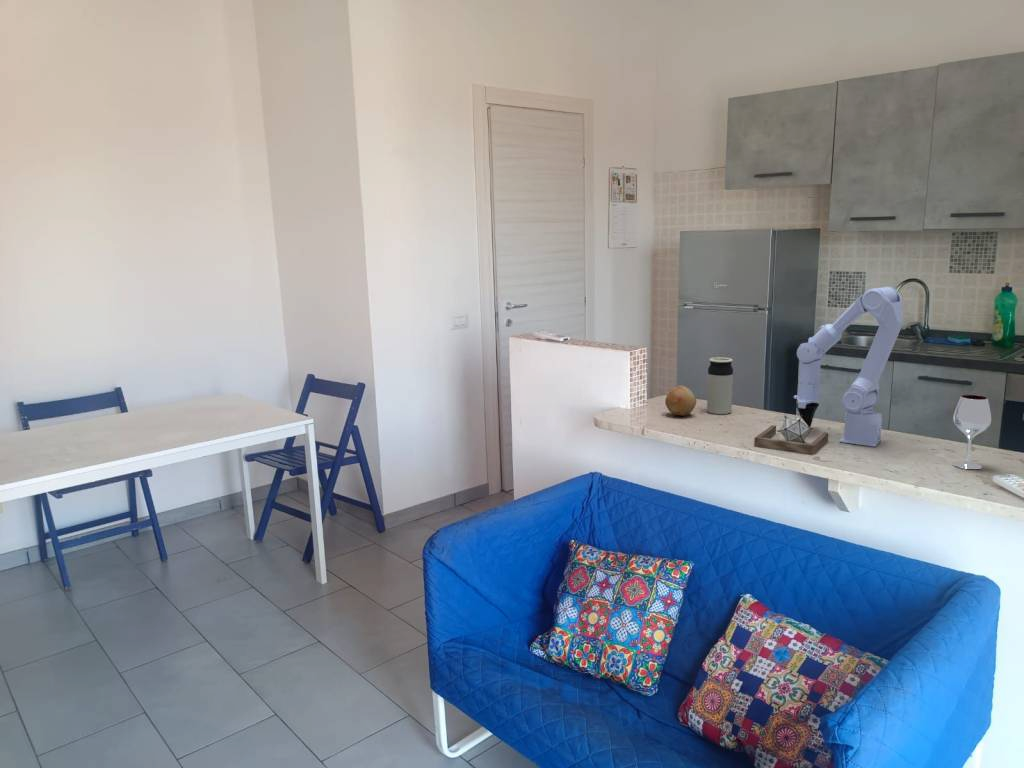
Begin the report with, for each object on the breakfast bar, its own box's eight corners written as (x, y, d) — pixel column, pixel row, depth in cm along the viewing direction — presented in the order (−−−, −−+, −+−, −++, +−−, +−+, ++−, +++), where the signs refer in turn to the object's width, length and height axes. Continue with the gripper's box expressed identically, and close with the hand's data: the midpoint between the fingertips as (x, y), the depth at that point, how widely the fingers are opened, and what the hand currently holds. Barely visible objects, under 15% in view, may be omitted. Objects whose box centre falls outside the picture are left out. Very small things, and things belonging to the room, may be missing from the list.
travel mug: (727, 415, 248) (730, 361, 245) (703, 413, 252) (705, 360, 249) (734, 410, 255) (736, 358, 252) (710, 408, 259) (712, 356, 256)
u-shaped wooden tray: (828, 441, 217) (828, 432, 217) (813, 454, 204) (813, 445, 204) (771, 433, 226) (772, 425, 226) (754, 446, 214) (754, 437, 213)
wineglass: (993, 469, 190) (1001, 399, 186) (968, 472, 187) (975, 401, 184) (966, 460, 197) (973, 392, 194) (941, 463, 195) (947, 395, 191)
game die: (798, 457, 215) (809, 436, 207) (770, 444, 218) (779, 422, 210) (809, 436, 220) (820, 414, 212) (780, 423, 223) (790, 402, 215)
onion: (698, 419, 245) (699, 388, 243) (667, 419, 246) (668, 389, 244) (693, 412, 255) (694, 382, 253) (663, 412, 255) (663, 383, 253)
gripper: (801, 377, 233) (798, 420, 235) (788, 385, 221) (785, 430, 224) (825, 379, 229) (822, 423, 231) (813, 388, 217) (810, 433, 220)
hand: (806, 427), depth 227 cm, fingers closed
